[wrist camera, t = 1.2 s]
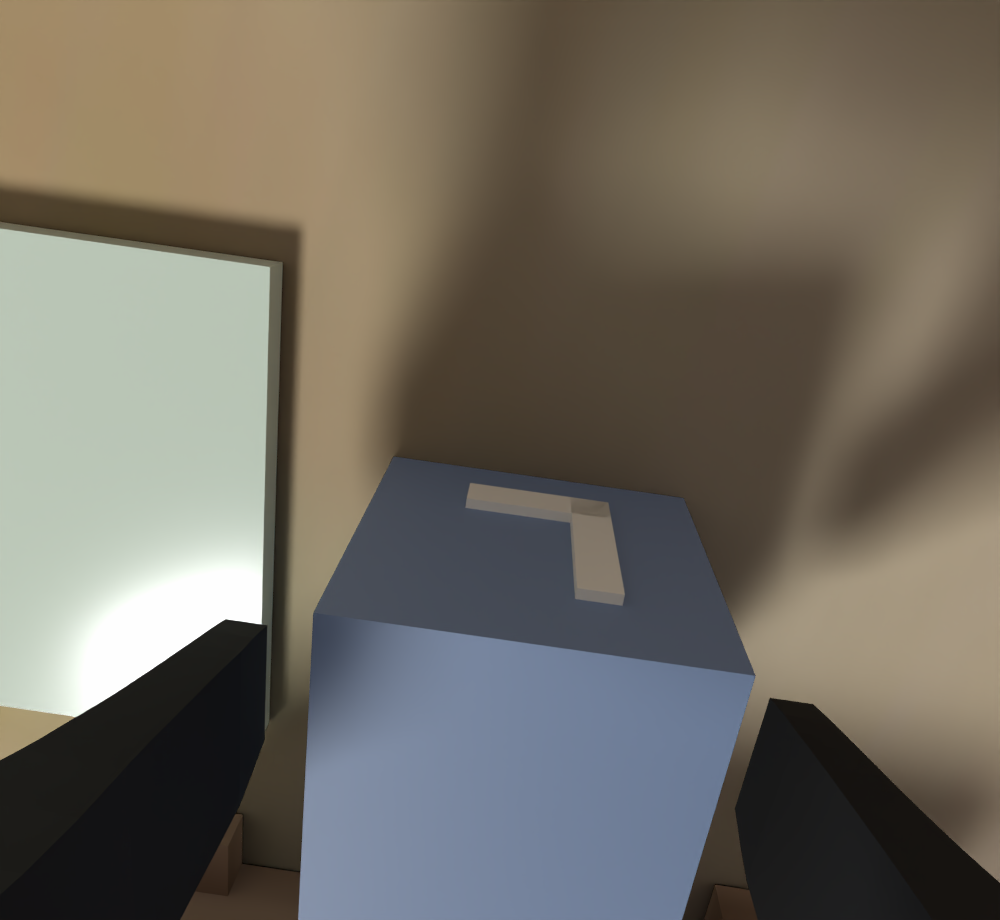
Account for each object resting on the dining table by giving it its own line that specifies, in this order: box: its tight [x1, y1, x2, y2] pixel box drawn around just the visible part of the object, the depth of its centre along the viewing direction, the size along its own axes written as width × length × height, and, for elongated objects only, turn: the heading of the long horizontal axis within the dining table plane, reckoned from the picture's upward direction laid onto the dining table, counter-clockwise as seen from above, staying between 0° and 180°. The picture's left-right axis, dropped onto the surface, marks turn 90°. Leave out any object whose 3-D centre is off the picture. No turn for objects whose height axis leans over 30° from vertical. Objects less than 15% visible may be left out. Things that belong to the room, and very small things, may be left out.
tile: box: [0, 222, 283, 730], centre depth 14 cm, size 9×9×1 cm
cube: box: [298, 457, 755, 920], centre depth 12 cm, size 5×5×5 cm
